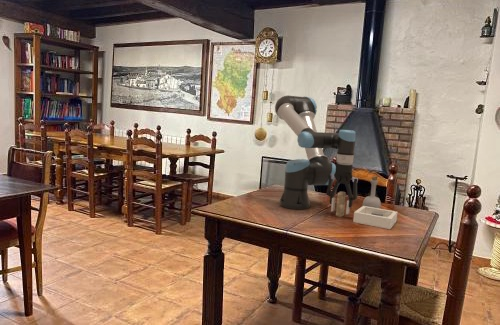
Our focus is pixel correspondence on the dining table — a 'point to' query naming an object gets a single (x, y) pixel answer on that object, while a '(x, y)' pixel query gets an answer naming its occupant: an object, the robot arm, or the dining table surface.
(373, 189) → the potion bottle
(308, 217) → the dining table surface
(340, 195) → the tapered beige beam
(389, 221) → the white square tray
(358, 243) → the dining table surface
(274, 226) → the dining table surface
